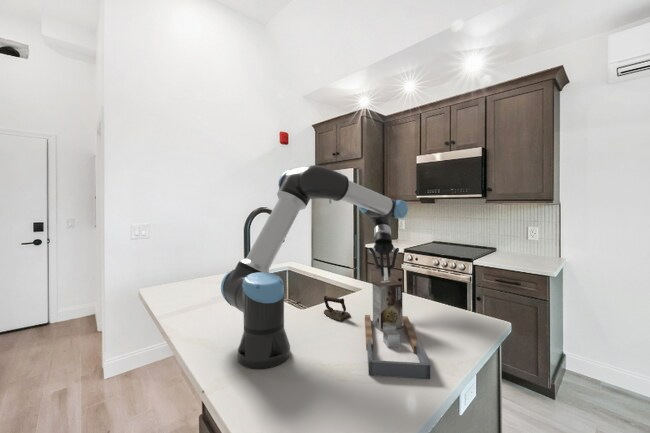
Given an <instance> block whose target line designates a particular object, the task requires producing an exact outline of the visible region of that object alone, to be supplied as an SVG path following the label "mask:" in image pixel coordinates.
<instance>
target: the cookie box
mask: <svg viewBox="0 0 650 433" xmlns="http://www.w3.org/2000/svg"><path fill="white" fill-rule="evenodd" d="M403 316H404V314H403V283H401V282H399V281H397V280H395V279H388V280H385V281H384V280H379V281H378V280H377V281H372V325H373V326H374V327H375V328H376V329H377V330H378V331H380V332H383V322H395V324H396V329H402V328H404V325H403V321H402V317H403Z"/></svg>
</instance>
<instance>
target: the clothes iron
mask: <svg viewBox="0 0 650 433" xmlns="http://www.w3.org/2000/svg"><path fill="white" fill-rule="evenodd" d="M323 300H324V304H325V307H326V309H324V310H323V314H325V315H326V316H325V315H324V316H325V317H327V318H328V317H329V319H331V320H333V321H336V322H337V323H338V322H340V323H342V322H345V320H347V319H349V318H351V314H350V313H349V312H348V311H347V307H346V304H345V299H344V297H343V298H336V297H333V296H328V295H324V297H323ZM329 302H330V303H331V302H332V303H337V304H341V307H342V310H339V309H334V308H333V307H331V306H330V305H329Z"/></svg>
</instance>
